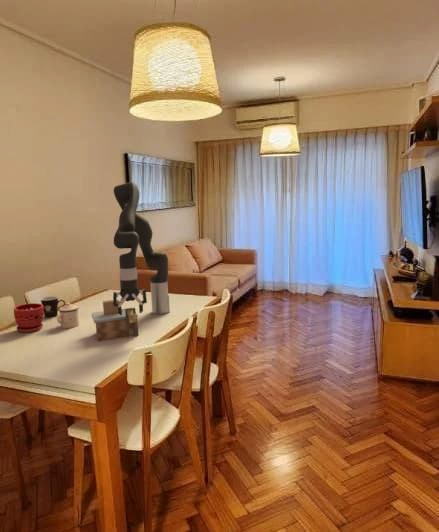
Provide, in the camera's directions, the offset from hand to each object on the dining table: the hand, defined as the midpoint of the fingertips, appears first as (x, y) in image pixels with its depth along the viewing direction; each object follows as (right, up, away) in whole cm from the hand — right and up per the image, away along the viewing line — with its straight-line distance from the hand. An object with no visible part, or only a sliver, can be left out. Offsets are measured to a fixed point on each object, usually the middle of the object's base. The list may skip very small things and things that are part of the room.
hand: (130, 313), depth 172 cm
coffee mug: (-52, -7, +41) cm, 66 cm away
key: (0, -2, +2) cm, 3 cm away
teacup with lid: (-37, -9, +23) cm, 44 cm away
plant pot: (-53, -10, +19) cm, 58 cm away
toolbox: (-9, -11, +10) cm, 17 cm away
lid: (-10, -3, +10) cm, 15 cm away
